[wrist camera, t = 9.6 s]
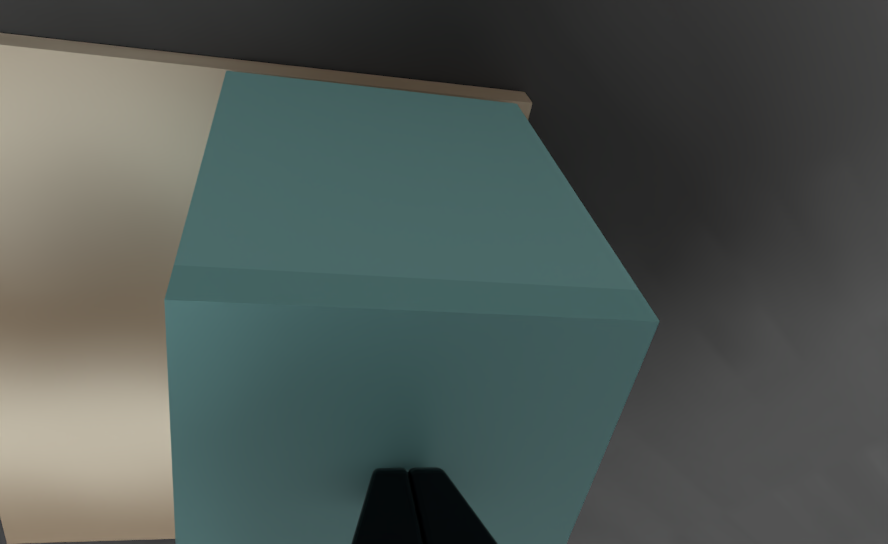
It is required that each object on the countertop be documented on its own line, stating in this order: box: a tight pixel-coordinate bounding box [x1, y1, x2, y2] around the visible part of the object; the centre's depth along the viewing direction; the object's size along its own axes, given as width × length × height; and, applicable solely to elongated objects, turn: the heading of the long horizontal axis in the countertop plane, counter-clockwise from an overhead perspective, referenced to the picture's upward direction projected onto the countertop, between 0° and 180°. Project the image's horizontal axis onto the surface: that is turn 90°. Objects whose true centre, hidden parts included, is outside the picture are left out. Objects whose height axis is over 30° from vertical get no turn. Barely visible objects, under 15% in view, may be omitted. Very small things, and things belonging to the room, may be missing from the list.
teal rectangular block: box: [164, 71, 660, 544], centre depth 11 cm, size 5×5×7 cm
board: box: [0, 33, 532, 544], centre depth 16 cm, size 13×11×1 cm
